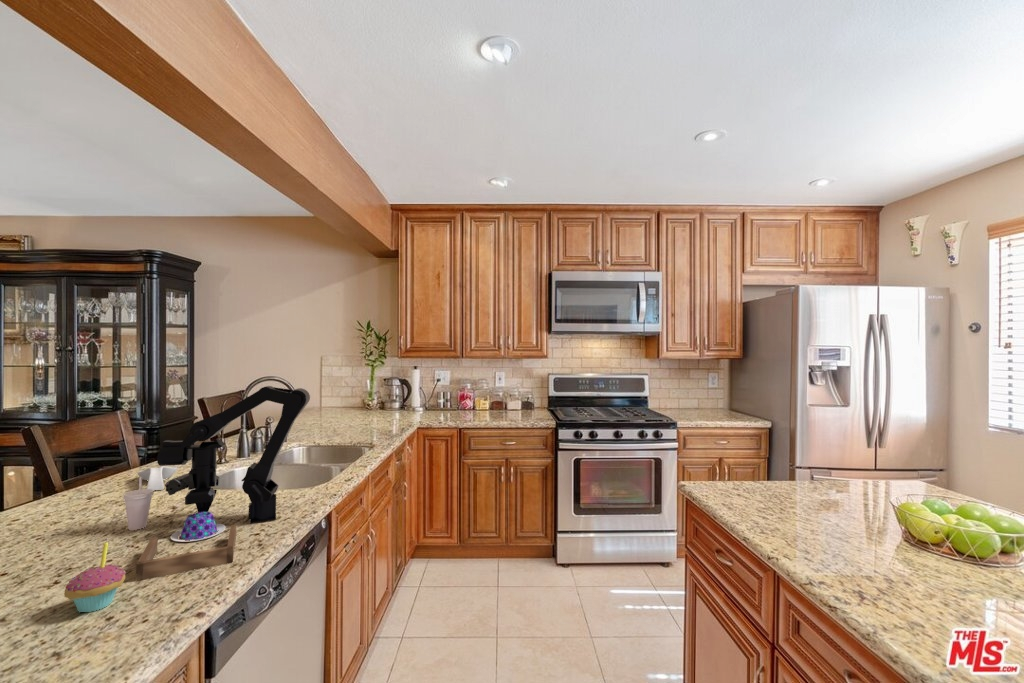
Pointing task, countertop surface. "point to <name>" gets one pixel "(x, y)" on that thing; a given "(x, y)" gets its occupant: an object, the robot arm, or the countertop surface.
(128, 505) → the smoothie
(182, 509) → the countertop surface
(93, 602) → the cupcake
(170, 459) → the robot arm
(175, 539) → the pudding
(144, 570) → the bay
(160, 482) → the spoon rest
